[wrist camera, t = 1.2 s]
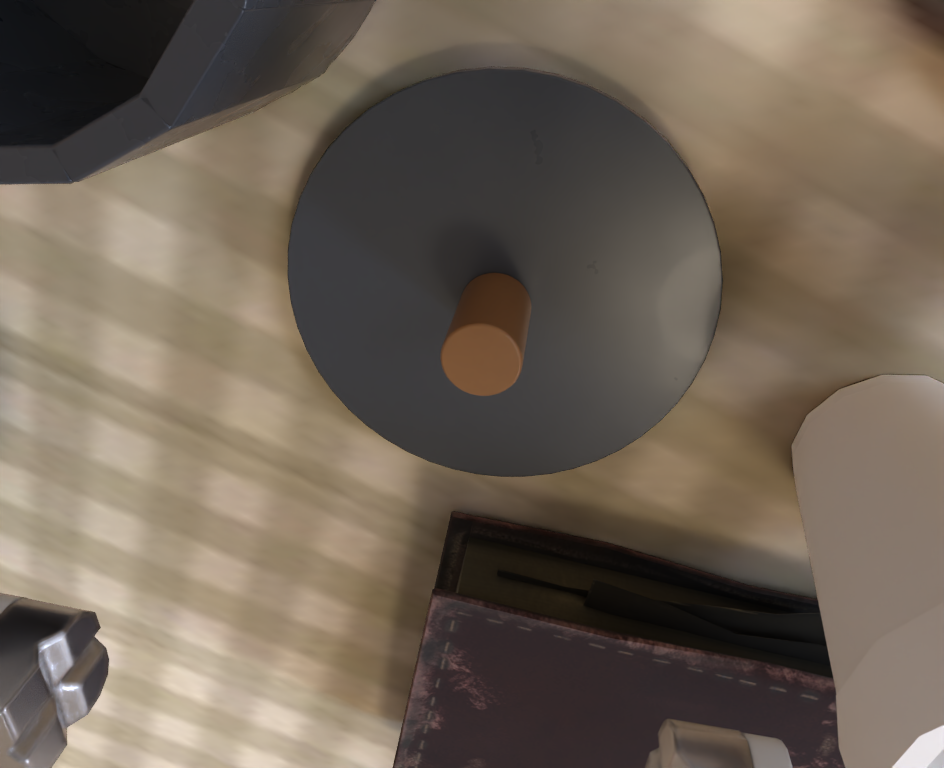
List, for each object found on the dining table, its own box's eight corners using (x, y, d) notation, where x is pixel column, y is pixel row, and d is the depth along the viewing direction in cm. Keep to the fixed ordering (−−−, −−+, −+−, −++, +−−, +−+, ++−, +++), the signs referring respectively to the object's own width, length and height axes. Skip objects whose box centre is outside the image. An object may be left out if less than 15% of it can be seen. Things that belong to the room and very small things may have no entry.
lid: (749, 55, 19) (798, 77, 15) (689, 467, 27) (711, 564, 22) (262, 72, 21) (179, 96, 17) (331, 450, 29) (285, 536, 24)
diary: (836, 846, 38) (868, 956, 34) (400, 739, 39) (377, 833, 34) (1043, 629, 28) (1125, 745, 24) (456, 490, 29) (434, 579, 25)
